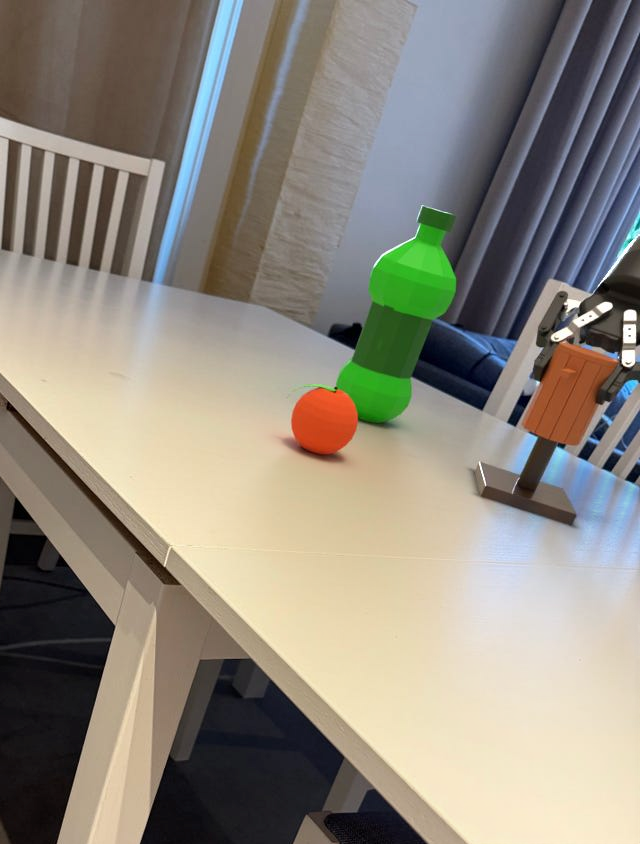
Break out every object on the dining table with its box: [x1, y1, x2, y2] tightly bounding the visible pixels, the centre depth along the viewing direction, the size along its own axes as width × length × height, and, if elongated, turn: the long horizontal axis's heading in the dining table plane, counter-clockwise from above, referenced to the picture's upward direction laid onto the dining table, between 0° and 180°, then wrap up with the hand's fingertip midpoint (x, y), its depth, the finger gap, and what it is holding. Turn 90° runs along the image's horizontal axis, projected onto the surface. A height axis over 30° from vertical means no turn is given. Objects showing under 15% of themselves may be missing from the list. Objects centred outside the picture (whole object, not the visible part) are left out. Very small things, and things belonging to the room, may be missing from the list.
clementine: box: [286, 383, 359, 455], centre depth 97 cm, size 8×7×7 cm
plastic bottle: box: [335, 205, 457, 424], centre depth 113 cm, size 10×10×25 cm
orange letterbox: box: [520, 342, 619, 447], centre depth 97 cm, size 9×6×9 cm
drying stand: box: [474, 435, 578, 526], centre depth 100 cm, size 10×10×16 cm
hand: (568, 387), depth 96 cm, fingers closed on orange letterbox, 6 cm apart
